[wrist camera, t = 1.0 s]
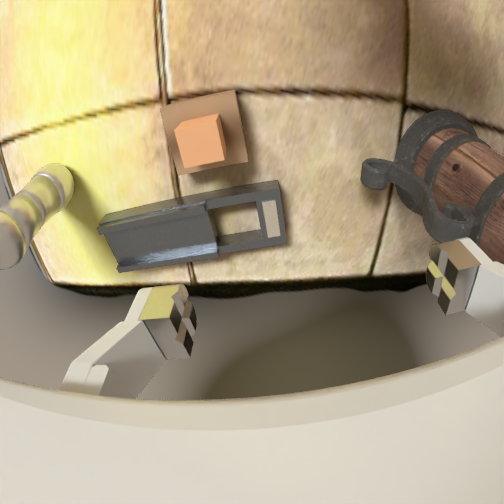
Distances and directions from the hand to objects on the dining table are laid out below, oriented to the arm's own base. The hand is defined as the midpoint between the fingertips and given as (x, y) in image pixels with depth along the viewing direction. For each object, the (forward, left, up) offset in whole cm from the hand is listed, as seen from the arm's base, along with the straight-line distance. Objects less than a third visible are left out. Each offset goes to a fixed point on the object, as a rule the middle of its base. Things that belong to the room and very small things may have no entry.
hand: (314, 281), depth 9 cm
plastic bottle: (+1, -28, -28) cm, 40 cm away
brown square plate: (0, -6, -27) cm, 28 cm away
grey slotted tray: (+12, -11, -27) cm, 32 cm away
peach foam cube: (0, -6, -24) cm, 25 cm away
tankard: (+8, +22, -28) cm, 36 cm away
